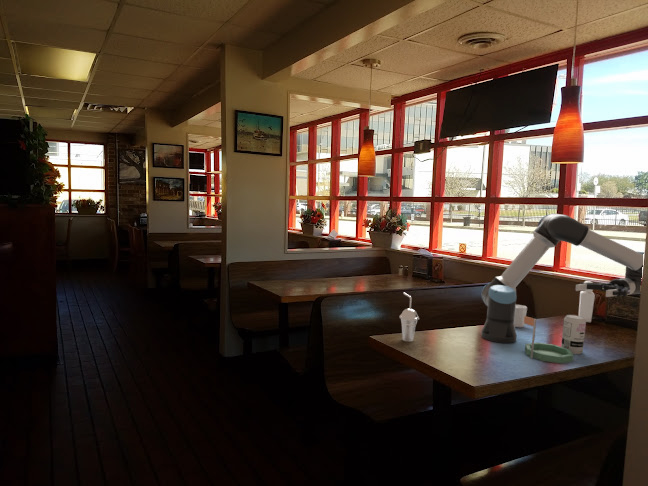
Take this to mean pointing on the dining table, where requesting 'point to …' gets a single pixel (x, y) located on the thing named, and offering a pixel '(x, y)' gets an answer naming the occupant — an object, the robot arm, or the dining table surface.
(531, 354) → the cup
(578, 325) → the supplement can
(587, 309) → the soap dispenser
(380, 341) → the dining table surface
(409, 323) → the cup with straw
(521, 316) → the white cup
